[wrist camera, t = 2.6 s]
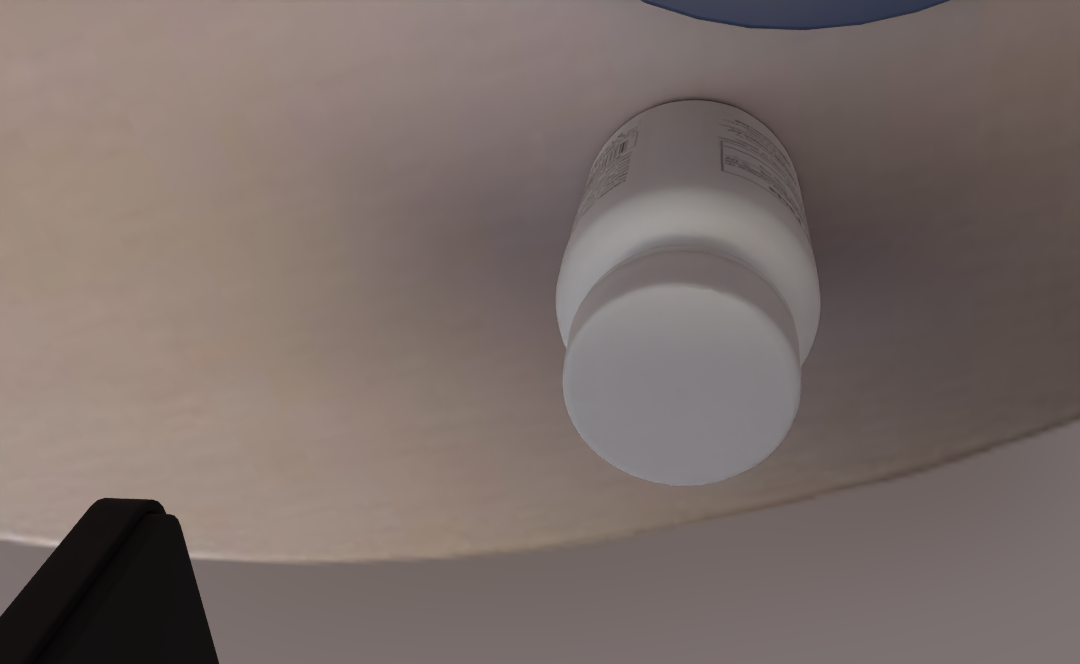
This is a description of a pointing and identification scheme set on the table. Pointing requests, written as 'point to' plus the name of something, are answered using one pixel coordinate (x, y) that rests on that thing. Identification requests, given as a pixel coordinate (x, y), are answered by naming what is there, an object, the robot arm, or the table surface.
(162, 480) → the table surface
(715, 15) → the blue pot lid
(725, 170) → the pill bottle
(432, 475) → the table surface
